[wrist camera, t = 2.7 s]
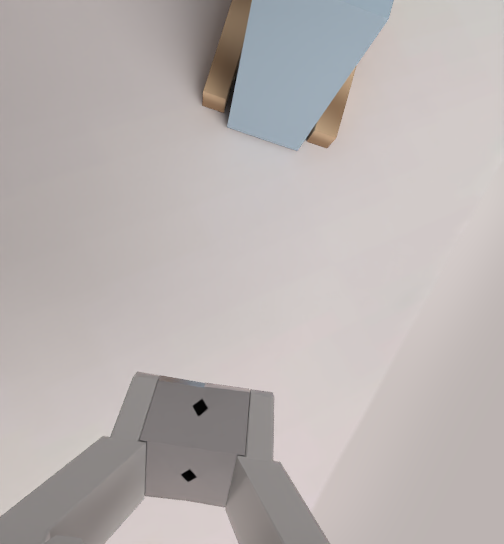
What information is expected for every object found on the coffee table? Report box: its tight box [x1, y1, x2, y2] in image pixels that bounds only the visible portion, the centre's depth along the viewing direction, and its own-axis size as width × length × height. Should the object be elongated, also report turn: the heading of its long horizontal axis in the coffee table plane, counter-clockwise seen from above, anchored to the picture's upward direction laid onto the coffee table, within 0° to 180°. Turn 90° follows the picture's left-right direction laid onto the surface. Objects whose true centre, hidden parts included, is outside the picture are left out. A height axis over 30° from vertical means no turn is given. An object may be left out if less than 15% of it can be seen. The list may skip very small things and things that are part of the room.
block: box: [227, 0, 394, 151], centre depth 23 cm, size 5×5×14 cm
